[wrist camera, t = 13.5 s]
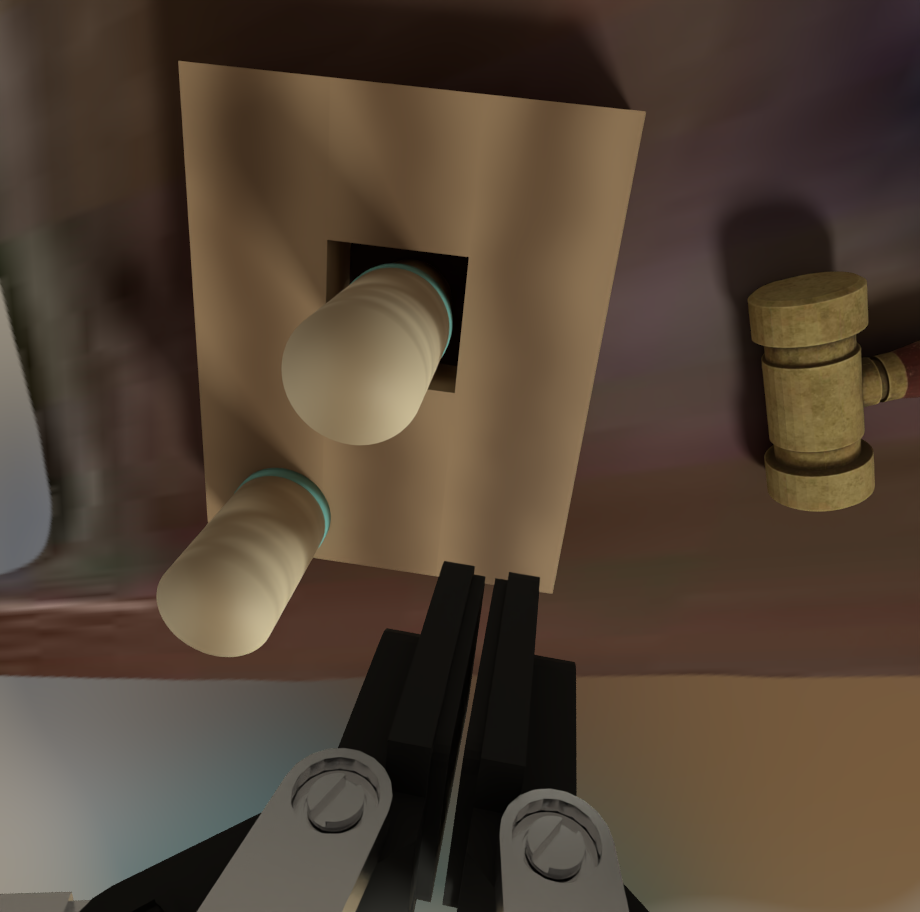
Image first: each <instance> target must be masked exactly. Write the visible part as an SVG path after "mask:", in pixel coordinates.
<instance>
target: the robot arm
mask: <svg viewBox="0 0 920 912" xmlns="http://www.w3.org/2000/svg"><path fill="white" fill-rule="evenodd" d="M474 571H475V566H472V565H466V564H460V563H454V562H448V561H444V562H443V565H442V568H441V571H440V574H439V577H438V581H437V584H436V587H435V590H434V593H433V597H432V600H431V603H430V606H429V609H428V613H427V616H426V619H425V622H424V625H423V629H422V632H421V634H415V633H410V632H404V631H399V630H393V629H386V630H385V631H384V633H383V635H382V637H381V639H380V642H379V645H378V647H377V650H376V652H375V655H374V657H373V660H372V662H371V665H370V668H369V670H368V673H367V675H366V678H365V681H364V683H363V686H362V688H361V691H360V693H359V696H358V698H357V701H356V704H355V706H354V708H353V711H352V714H351V716H350V719H349V721H348V724H347V726H346V729H345V732H344V734H343V737H342V739H341V742H340V744H339V747H338V748H336V749H326V750H323V751H320V752H317V753H314V754H311V755H309V756H308V757H306V758H305V759H303V760H301V761H300V762H298V763H297V764H296V765H295V766H294V767H293V768H292V769H291V771H290V772H289V773H288V774H287V775H286V777H285V778H284V779H283V781H282V783H281V784H280V786H279V787H278V789H277V790H276V792H275V793H274V795H273V796H272V798H271V799H270V801H269V802H268V804H267V805H266V807H265V808H264V810H263V811H262V813H260V814H258V815H256V816H253V817H251V818H249V819H247V820H245V821H243V822H241V823H239V824H237V825H235V826H233V827H231V828H229V829H227V830H225V831H223V832H221V833H219V834H217V835H215V836H213V837H211V838H209V839H207V840H205V841H203V842H201V843H198V844H197V845H195V846H192V847H190V848H189V849H186V850H184V851H182V852H180V853H178V854H176V855H174V856H172V857H170V858H168V859H166V860H164V861H162V862H160V863H158V864H156V865H154V866H152V867H150V868H148V869H146V870H144V871H142V872H140V873H137V874H135V875H133V876H131V877H130V878H127V879H125V880H123V881H121V882H119V883H117V884H115V885H113V886H111V887H110V888H108V889H107V890H105V891H104V892H102V893H100V894H99V895H97V896H96V897H94V898H93V899H92V900H84V901H83V900H82V901H74V900H73V896H72V892H55V893H53V892H51V893H18V894H0V912H414V909H415V904H416V900H417V899H419V900H423V901H428V902H431V897H432V892H433V887H434V882H435V877H436V871H437V866H438V861H439V855H440V850H441V845H442V840H443V834H444V828H445V823H446V818H447V813H448V807H449V803H450V797H451V792H452V787H453V781H454V776H455V770H456V765H457V760H458V755H459V749H460V744H461V739H462V733H463V728H464V723H465V718H466V712H467V706H468V700H469V694H470V686H471V679H472V672H473V665H474V658H475V650H476V643H477V636H478V629H479V622H480V614H481V607H482V600H483V593H484V586H485V576H480V575H474ZM539 586H540V577H537V576H531V575H525V574H519V573H513V572H509V575H508V580H504V579H498V578H495V583H494V589H493V594H492V600H491V605H490V611H489V616H488V622H487V627H486V633H485V639H484V644H483V650H482V655H481V661H480V666H479V672H478V677H477V683H476V689H475V694H474V699H473V705H472V711H471V716H470V722H469V727H468V733H467V738H466V745H465V750H464V756H463V763H462V770H461V777H460V785H459V791H458V798H457V805H456V812H455V819H454V826H453V833H452V841H451V847H450V855H449V862H448V869H447V876H446V883H445V890H444V897H443V905H446V906H451V907H456V908H457V912H649V911H648V910H647V909H646V908H645V907H644V906H643V905H642V904H641V902H640V901H639V900H638V899H637V898H636V897H635V896H634V895H633V894H632V893H631V891H629V889H628V888H627V887H626V886H625V885H624V884H623V881H622V876H621V872H620V867H619V862H618V858H617V854H616V849H615V844H614V841H613V838H612V836H611V833H610V830H609V828H608V825H607V824H606V823H605V821H604V820H603V819H602V817H601V816H600V815H599V813H598V812H597V811H596V810H595V809H594V808H592V807H591V806H590V805H589V804H588V803H586V802H585V801H584V800H583V799H580V798H578V797H576V665H575V662H571V661H565V660H560V659H554V658H549V657H543V656H538V655H534V651H535V638H536V625H537V612H538V599H539Z"/></svg>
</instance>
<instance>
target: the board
mask: <svg viewBox="0 0 920 912" xmlns="http://www.w3.org/2000/svg"><path fill="white" fill-rule="evenodd" d="M178 65H179V80H180V96H181V111H182V127H183V142H184V158H185V173H186V189H187V205H188V220H189V236H190V251H191V267H192V282H193V298H194V313H195V329H196V344H197V360H198V375H199V391H200V406H201V422H202V437H203V453H204V468H205V484H206V500H207V515H208V524H207V526H206V527H205V528H204V529H203V530H202V531H201V532H200V534H199V535H198V536H197V537H196V538H195V539H194V540H193V542H192V543H191V544H190V545H189V546H188V547H187V549H186V550H185V551H184V552H183V553H182V554H181V555H180V557H179V558H178V559H177V560H176V561H175V562H174V563H173V565H172V566H171V567H170V568H169V569H168V570H167V571H166V573H165V574H164V575H163V576H162V578H161V580H160V582H159V585H158V588H157V604H158V608H159V611H160V614H161V616H162V618H163V620H164V622H165V623H166V625H167V626H168V627H169V629H170V630H171V631H172V632H173V633H174V634H175V635H176V636H177V637H178V638H179V639H181V640H182V641H183V642H184V643H186V644H187V645H189V646H191V647H193V648H194V649H196V650H199V651H201V652H204V653H207V654H210V655H215V656H221V657H236V656H242V655H246V654H249V653H251V652H253V651H255V650H257V649H258V648H259V647H261V646H262V645H263V644H264V643H265V642H266V640H267V639H268V637H269V636H270V634H271V632H272V630H273V628H274V627H275V625H276V623H277V621H278V619H279V618H280V616H281V614H282V612H283V610H284V608H285V607H286V605H287V603H288V601H289V599H290V598H291V596H292V594H293V592H294V590H295V589H296V587H297V585H298V583H299V581H300V580H301V578H302V576H303V574H304V572H305V571H306V569H307V567H308V565H309V563H310V562H311V560H312V558H319V559H325V560H332V561H339V562H345V563H352V564H359V565H365V566H372V567H379V568H385V569H392V570H399V571H405V572H412V573H418V574H425V575H432V576H438V577H439V574H440V571H441V568H442V565H443V562H444V561H448V562H454V563H460V564H466V565H472V566H475V571H474V575H480V576H485V584H491V585H494V583H495V578H498V579H504V580H508V575H509V572H513V573H519V574H525V575H531V576H537V577H540V586H539V592H545V593H551V594H552V593H553V588H554V583H555V578H556V573H557V567H558V562H559V557H560V552H561V547H562V542H563V537H564V531H565V526H566V521H567V516H568V511H569V506H570V500H571V495H572V490H573V485H574V480H575V475H576V470H577V464H578V459H579V454H580V449H581V444H582V439H583V433H584V428H585V423H586V418H587V413H588V408H589V403H590V397H591V392H592V387H593V382H594V377H595V372H596V366H597V361H598V356H599V351H600V346H601V341H602V336H603V330H604V325H605V320H606V315H607V310H608V305H609V299H610V294H611V289H612V284H613V279H614V274H615V269H616V263H617V258H618V253H619V248H620V243H621V238H622V232H623V227H624V222H625V217H626V212H627V207H628V202H629V196H630V191H631V186H632V181H633V176H634V171H635V165H636V160H637V155H638V150H639V145H640V140H641V135H642V129H643V124H644V119H645V114H646V112H644V111H635V110H625V109H616V108H607V107H598V106H589V105H580V104H570V103H561V102H552V101H543V100H534V99H524V98H515V97H506V96H497V95H488V94H479V93H469V92H460V91H451V90H442V89H433V88H423V87H414V86H405V85H396V84H387V83H377V82H368V81H359V80H350V79H341V78H332V77H322V76H313V75H304V74H295V73H286V72H276V71H267V70H258V69H249V68H240V67H231V66H221V65H212V64H203V63H194V62H185V61H178ZM351 243H358V244H366V245H374V246H382V247H390V248H399V249H407V250H415V251H423V252H431V253H439V254H447V255H455V256H464V257H469V261H468V271H467V280H466V290H465V300H464V309H463V319H462V328H461V338H460V348H459V357H458V366H456V365H448V364H441V363H439V364H438V366H437V368H436V371H435V373H434V375H433V378H432V380H431V382H430V385H429V387H428V389H427V391H426V394H425V396H424V398H423V401H422V403H421V405H420V407H419V410H418V412H417V414H416V415H415V417H414V418H413V420H412V421H411V422H410V423H409V425H408V426H407V427H406V428H405V429H403V430H402V431H401V432H400V433H398V434H397V435H395V436H394V437H392V438H390V439H388V440H386V441H383V442H380V443H376V444H370V445H349V444H344V443H340V442H337V441H334V440H331V439H329V438H327V437H324V436H323V435H321V434H319V433H318V432H316V431H315V430H313V429H312V428H311V427H310V426H308V425H307V424H306V423H305V422H304V421H303V420H302V419H301V418H300V416H299V415H298V414H297V413H296V411H295V410H294V408H293V407H292V405H291V403H290V401H289V399H288V397H287V395H286V392H285V389H284V385H283V380H282V370H281V369H282V358H283V353H284V350H285V347H286V344H287V342H288V340H289V338H290V336H291V335H292V333H293V332H294V330H295V329H296V328H297V327H298V326H299V325H300V324H301V323H302V322H303V321H304V320H305V319H307V318H308V317H309V316H310V315H312V314H313V313H314V312H316V311H317V310H318V309H319V308H321V307H322V306H323V305H325V304H326V303H327V302H328V301H330V300H331V299H332V298H334V297H335V296H336V295H337V294H339V293H340V292H341V291H342V290H344V289H345V288H346V287H348V286H349V285H350V254H351Z"/></svg>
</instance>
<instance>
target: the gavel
mask: <svg viewBox="0 0 920 912" xmlns="http://www.w3.org/2000/svg"><path fill="white" fill-rule="evenodd" d="M748 308H749V318H750V327H751V337H752V340H753V341H754V342H755V343H757V344H759V345H763V346H764V354H763V356H762V358H761V360H762V370H763V380H764V390H765V399H766V409H767V419H768V429H769V438H770V441H771V442H772V443H773V444H774V445H773V446H771V447H770V448H769V449H768V450H767V451H766V453H765V456H764V459H765V468H766V478H767V487H768V493H769V495H770V496H771V497H772V498H773V499H774V500H775V501H777V502H779V503H780V504H783V505H785V506H788V507H791V508H795V509H799V510H806V511H832V510H838V509H842V508H846V507H850V506H852V505H855V504H858V503H860V502H862V501H863V500H865V499H867V498H868V497H869V496H870V495H871V494H872V493H873V491H874V487H875V478H874V453H873V449H872V447H871V446H870V445H869V444H868V443H867V442H866V441H864V440H862V439H861V438H862V436H863V435H864V430H865V429H864V407H866V406H871V405H875V404H878V403H879V402H886V401H891V400H895V399H900V398H915V397H920V341H917V342H914V343H912V344H909V345H907V346H904V347H902V348H899V349H896V350H894V351H891V352H889V353H884V354H880V355H876V356H872V357H870V358H867V357H864V358H861V346H860V344H858V343H857V342H856V334H857V333H859V332H861V331H862V330H864V329H865V328H866V327H867V325H868V301H867V281H866V279H865V278H863V277H861V276H859V275H856V274H854V273H849V272H820V273H811V274H805V275H801V276H796V277H792V278H788V279H784V280H779V281H775V282H772V283H769V284H767V285H764V286H762V287H760V288H759V289H757V290H756V291H755V292H753V293H752V294H751V295H750V296H749V297H748Z"/></svg>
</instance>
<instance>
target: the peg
mask: <svg viewBox="0 0 920 912" xmlns="http://www.w3.org/2000/svg"><path fill="white" fill-rule="evenodd" d="M452 306H453V299H452V293H451V289H450V287H449V284H448V282H447V280H446V279H445V277H444V276H443V275H442V274H441V273H440V271H438V270H437V269H436V268H435V267H433V266H432V265H430V264H428V263H426V262H423V261H420V260H415V259H405V260H400V261H397V262H394V263H389V264H382V265H378V266H375V267H373V268H370V269H369V270H367V271H365V272H364V273H362V274H361V275H360V276H358V277H357V278H356V279H355V280H354V281H353V282H352V283H351V284H350V285H349V286H348V287H346V288H345V289H344V290H342V291H341V292H340V293H339V294H337V295H336V296H335V297H334V298H332V299H331V300H330V301H328V302H327V303H326V304H325V305H323V306H322V307H321V308H319V309H318V310H317V311H316V312H314V313H313V314H312V315H310V316H309V317H308V318H307V319H305V320H304V321H303V322H302V323H301V324H300V325H299V326H298V327H297V328H296V329H295V330H294V332H293V333H292V335H291V336H290V338H289V340H288V342H287V344H286V347H285V350H284V353H283V358H282V369H281V370H282V380H283V385H284V389H285V392H286V395H287V397H288V399H289V401H290V403H291V405H292V407H293V408H294V410H295V411H296V413H297V414H298V415H299V416H300V418H301V419H302V420H303V421H304V422H305V423H306V424H307V425H308V426H310V427H311V428H312V429H313V430H315V431H316V432H318V433H319V434H321V435H323V436H324V437H327V438H329V439H331V440H334V441H337V442H340V443H344V444H349V445H370V444H376V443H380V442H383V441H386V440H388V439H390V438H392V437H394V436H395V435H397V434H398V433H400V432H401V431H402V430H403V429H405V428H406V427H407V426H408V425H409V423H410V422H411V421H412V420H413V418H414V417H415V415H416V414H417V412H418V410H419V407H420V405H421V403H422V401H423V398H424V396H425V394H426V391H427V389H428V387H429V385H430V382H431V380H432V378H433V375H434V373H435V371H436V368H437V366H438V364H439V362H440V359H441V358H442V356H443V354H444V353H445V351H446V348H447V346H448V344H449V341H450V338H451V335H452V329H453V317H452Z"/></svg>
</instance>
